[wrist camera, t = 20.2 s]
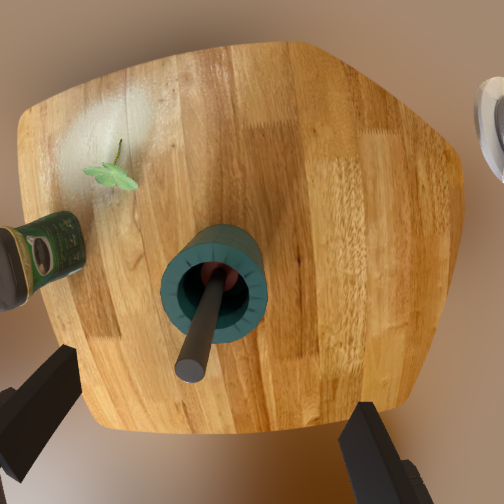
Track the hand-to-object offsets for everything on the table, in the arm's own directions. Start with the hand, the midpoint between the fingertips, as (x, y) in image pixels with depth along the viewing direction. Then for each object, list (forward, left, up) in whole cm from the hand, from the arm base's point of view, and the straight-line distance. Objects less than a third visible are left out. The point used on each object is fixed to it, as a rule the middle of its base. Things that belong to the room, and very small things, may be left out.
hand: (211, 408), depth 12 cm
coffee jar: (+27, +3, -29) cm, 40 cm away
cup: (+2, +1, -29) cm, 29 cm away
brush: (+2, +1, -28) cm, 28 cm away
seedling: (+18, -9, -29) cm, 35 cm away
